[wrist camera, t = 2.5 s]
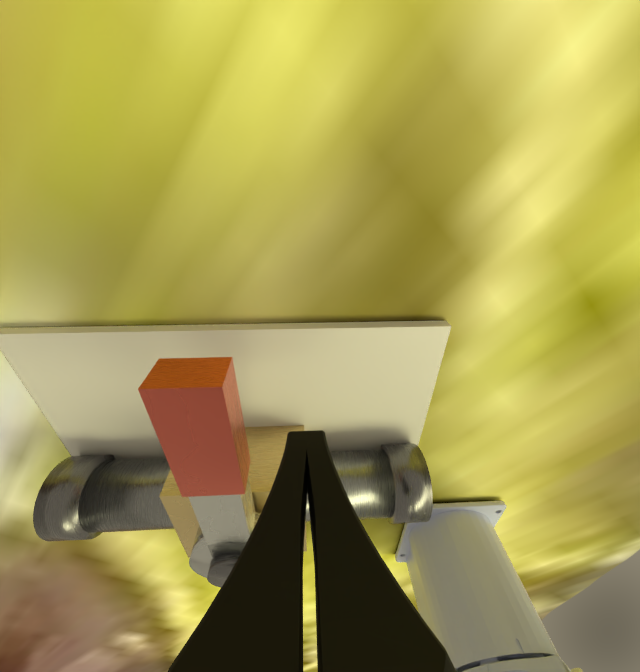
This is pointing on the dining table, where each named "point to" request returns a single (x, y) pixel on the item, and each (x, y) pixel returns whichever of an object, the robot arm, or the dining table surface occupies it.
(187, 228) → the dining table surface
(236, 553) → the lever
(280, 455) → the valve body
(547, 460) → the dining table surface
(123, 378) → the mounting board
